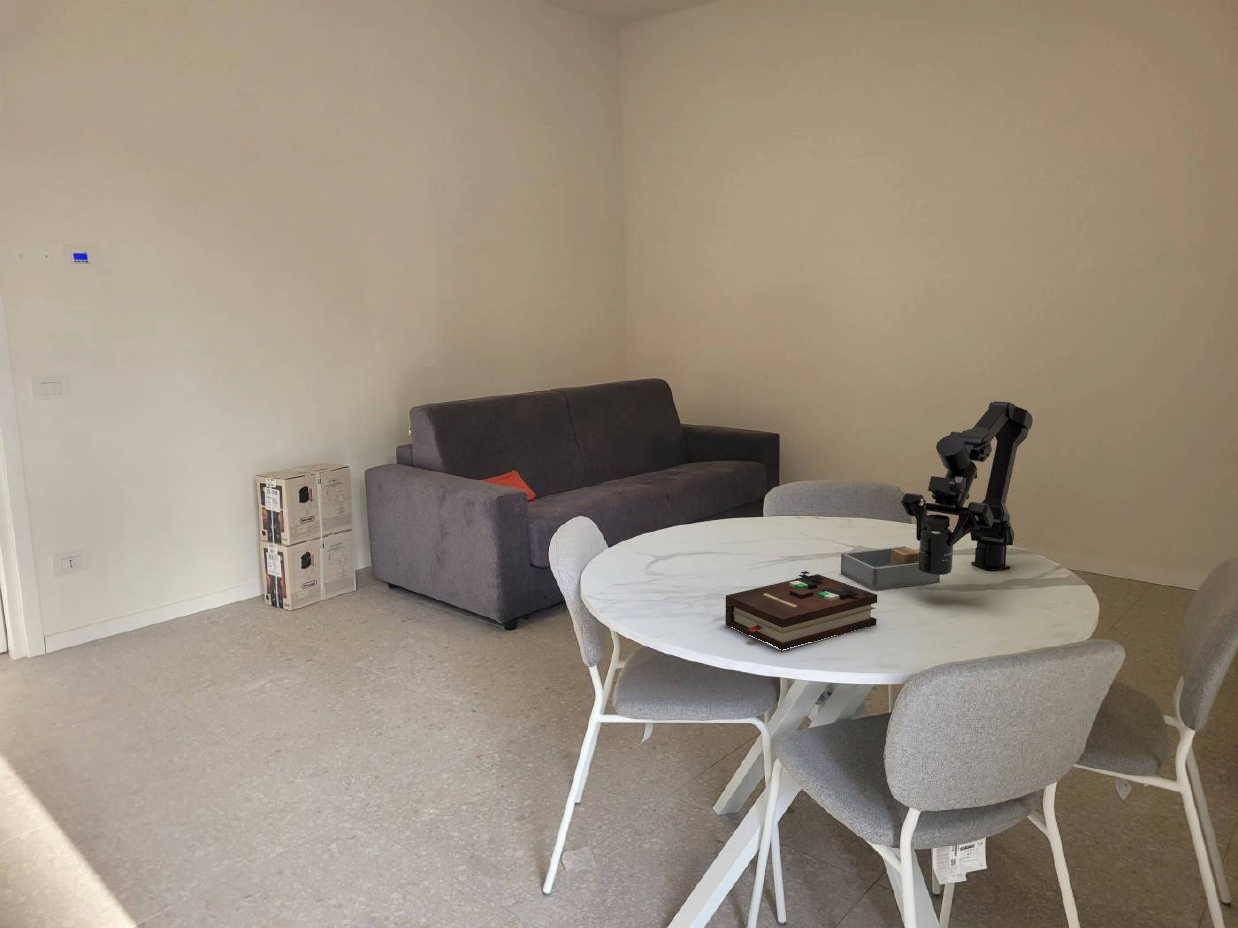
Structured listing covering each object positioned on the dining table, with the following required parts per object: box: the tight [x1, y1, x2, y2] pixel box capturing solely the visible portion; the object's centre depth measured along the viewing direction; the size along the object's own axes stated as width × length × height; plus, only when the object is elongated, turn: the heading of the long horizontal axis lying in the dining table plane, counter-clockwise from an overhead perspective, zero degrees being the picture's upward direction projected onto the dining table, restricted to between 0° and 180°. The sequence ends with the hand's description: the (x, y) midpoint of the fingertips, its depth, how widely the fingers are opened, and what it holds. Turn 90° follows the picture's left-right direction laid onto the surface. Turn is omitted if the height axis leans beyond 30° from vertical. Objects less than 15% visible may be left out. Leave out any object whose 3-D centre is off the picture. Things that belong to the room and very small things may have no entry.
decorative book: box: [724, 570, 878, 650], centre depth 184 cm, size 19×8×30 cm
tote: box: [840, 545, 941, 591], centre depth 213 cm, size 18×14×5 cm
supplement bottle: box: [918, 513, 954, 576], centre depth 196 cm, size 7×7×12 cm
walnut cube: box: [890, 546, 919, 566], centre depth 215 cm, size 5×5×5 cm
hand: (933, 542), depth 194 cm, fingers closed on supplement bottle, 7 cm apart
